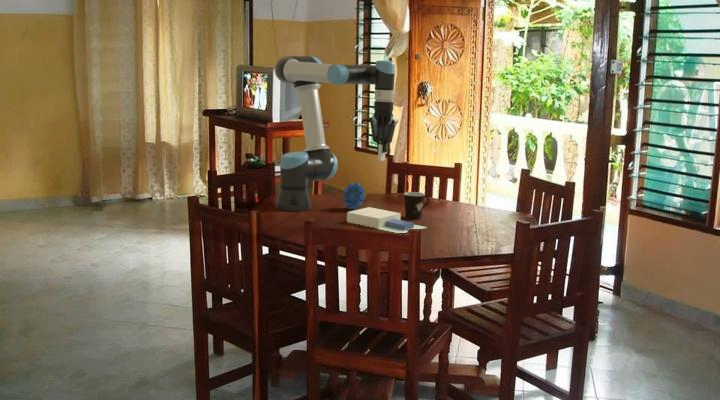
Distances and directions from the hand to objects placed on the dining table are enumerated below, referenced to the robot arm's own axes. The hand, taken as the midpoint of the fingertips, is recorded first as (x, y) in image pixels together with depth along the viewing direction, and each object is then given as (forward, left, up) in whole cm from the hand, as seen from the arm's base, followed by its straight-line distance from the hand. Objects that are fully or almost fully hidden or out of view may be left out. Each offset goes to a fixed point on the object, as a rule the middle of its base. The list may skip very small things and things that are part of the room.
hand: (381, 160), depth 306 cm
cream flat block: (+1, -5, -24) cm, 25 cm away
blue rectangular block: (+14, -5, -24) cm, 28 cm away
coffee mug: (+8, +15, -25) cm, 30 cm away
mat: (+15, -5, -24) cm, 29 cm away
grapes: (-20, +9, -25) cm, 33 cm away
